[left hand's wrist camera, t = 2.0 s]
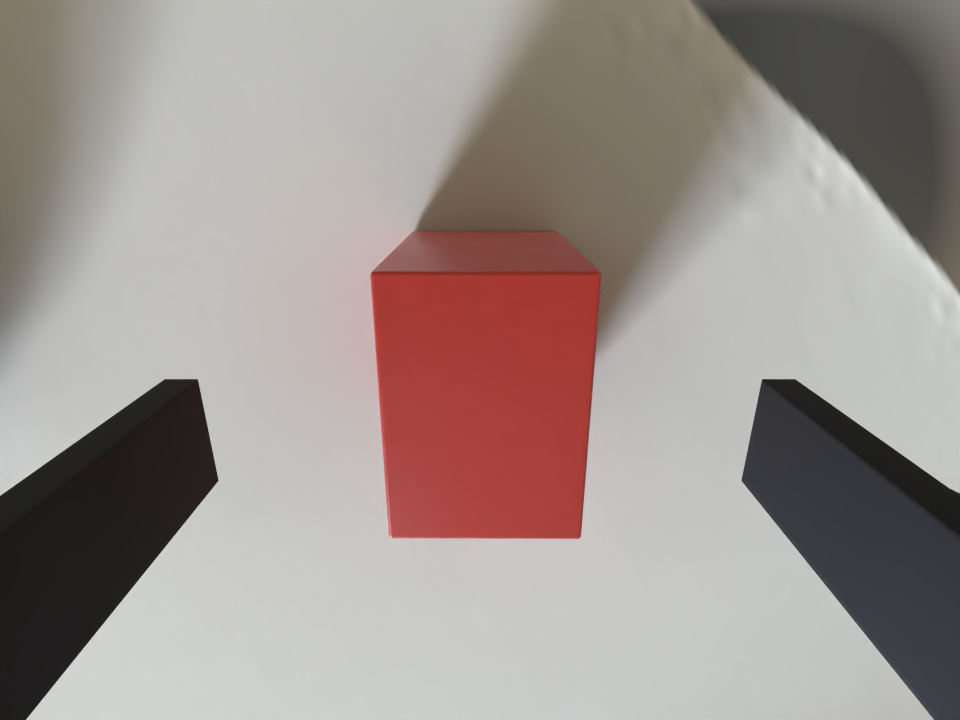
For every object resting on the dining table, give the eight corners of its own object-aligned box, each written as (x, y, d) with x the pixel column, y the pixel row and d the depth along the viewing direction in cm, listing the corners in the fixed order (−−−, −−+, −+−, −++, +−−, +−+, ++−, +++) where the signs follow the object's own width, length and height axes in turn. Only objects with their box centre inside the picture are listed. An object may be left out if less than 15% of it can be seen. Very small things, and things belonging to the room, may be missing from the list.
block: (557, 231, 20) (602, 272, 13) (548, 415, 23) (581, 540, 15) (412, 231, 20) (369, 271, 13) (420, 415, 23) (388, 539, 15)
